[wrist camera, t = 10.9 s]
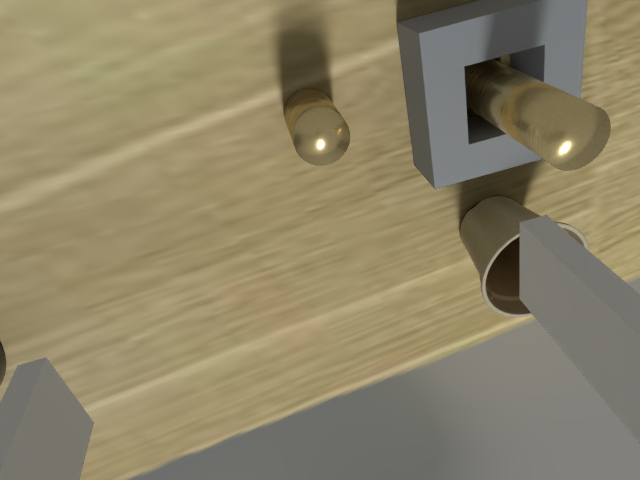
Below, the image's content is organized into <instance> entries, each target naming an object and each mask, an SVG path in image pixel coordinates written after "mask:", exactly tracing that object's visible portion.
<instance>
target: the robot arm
mask: <svg viewBox="0 0 640 480" xmlns="http://www.w3.org/2000/svg"><path fill="white" fill-rule="evenodd" d="M519 299H520V300H521V301H522V302H523V304H524V305H525V306H526V307H527V308H528V310H529V311H530V312H531V313H532V315H533V316H534V317H535V318H536V319H537V320H538V322H539V323H540V324H541V325H542V327H543V328H544V329H545V330H546V331H547V333H548V334H549V335H550V336H551V337H552V339H553V340H554V341H555V342H556V343H557V344H558V346H559V347H560V348H561V349H562V351H563V352H564V353H565V354H566V355H567V357H568V358H569V359H570V360H571V361H572V363H573V364H574V365H575V366H576V367H577V369H578V370H579V371H580V372H581V374H582V375H583V376H584V377H585V378H586V380H587V381H588V382H589V383H590V384H591V386H592V387H593V388H594V389H595V390H596V392H597V393H598V394H599V395H600V396H601V397H602V399H603V400H604V401H605V402H606V404H607V405H608V406H609V407H610V408H611V409H612V411H613V412H614V413H615V414H616V416H617V417H618V418H619V419H620V420H621V422H622V423H623V424H624V425H625V426H626V428H627V429H628V430H629V431H630V432H631V434H632V435H633V436H634V437H635V439H636V440H637V441H638V442H639V443H640V294H639V293H638V292H636V291H635V290H634V289H633V288H632V287H630V286H629V285H628V284H627V283H626V282H625V281H623V280H622V279H621V278H620V277H619V276H618V275H616V274H615V273H614V272H613V271H612V270H610V269H609V268H608V267H607V266H606V265H605V264H603V263H602V262H601V261H600V260H599V259H598V258H596V257H595V256H594V255H593V254H592V253H591V252H589V251H588V250H587V249H586V248H585V247H583V246H582V245H581V244H580V243H579V242H578V241H576V240H575V239H574V238H573V237H572V236H571V235H569V234H568V233H567V232H566V231H565V230H564V229H562V228H561V227H560V226H559V225H558V224H556V223H555V222H554V221H553V220H552V219H551V218H549V217H548V216H547V215H544V216H541V217H537V218H534V219H530V220H527V221H523V222H520V287H519ZM5 371H6V359H5V354H4V351H3V348H2V346H1V344H0V385H1V383H2V381H3V379H4V375H5ZM93 424H94V422H93V421H92V419H91V418H90V417H89V415H88V414H87V412H86V411H85V410H84V408H83V407H82V406H81V404H80V403H79V401H78V400H77V399H76V397H75V396H74V395H73V393H72V392H71V391H70V389H69V388H68V386H67V385H66V384H65V382H64V381H63V380H62V378H61V377H60V375H59V374H58V373H57V371H56V370H55V369H54V367H53V366H52V365H51V363H50V362H49V360H48V359H47V358H42V359H39V360H35V361H32V362H28V363H25V364H21V365H18V366H17V368H16V370H15V373H14V375H13V377H12V379H11V381H10V383H9V386H8V388H7V390H6V392H5V394H4V396H3V399H2V401H1V403H0V480H79V479H80V476H81V472H82V468H83V464H84V460H85V456H86V452H87V448H88V444H89V440H90V436H91V432H92V428H93Z"/></svg>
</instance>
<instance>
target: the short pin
mask: <svg viewBox="0 0 640 480" xmlns="http://www.w3.org/2000/svg"><path fill="white" fill-rule="evenodd" d="M284 117H285V121H286V124H287V127H288V130H289V132H290V135H291V138H292V140H293V143H294V146H295V149H296V151H297V153H298V154H299V156H300V157H301V158H302V159H303V160H304V161H306V162H308V163H310V164H313V165H327V164H331V163H333V162H335V161H336V160H338V159H339V158H340V157H341V156H342V155H343V154H344V153H345V152H346V150H347V148H348V145H349V142H350V131H349V127H348V125H347V123H346V122H345V120H344V119H343V117H342V116H341V114H340V113H339V111H338V110H337V109H336V107H335V106H334V104H333V103H332V101H331V100H330V98H329V97H328V96H327V95H326V94H325V93H324V92H322V91H320V90H318V89H314V88H305V89H302V90H299V91H297V92H296V93H294V94H293V95H292V96H291V97H290V98H289V100H288V101H287V103H286V106H285V110H284Z"/></svg>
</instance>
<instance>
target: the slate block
mask: <svg viewBox="0 0 640 480" xmlns="http://www.w3.org/2000/svg"><path fill="white" fill-rule="evenodd" d="M586 12H587V0H478V1H474V2H470V3H467V4H463V5H459V6H455V7H452V8H448V9H444V10H441V11H437V12H433V13H429V14H426V15H422V16H418V17H415V18H411V19H407V20H403V21H400V22H397V30H398V38H399V46H400V54H401V62H402V70H403V78H404V87H405V95H406V103H407V111H408V119H409V127H410V135H411V143H412V151H413V159H414V165H415V166H416V168H417V169H418V170H419V171H420V172H421V173H422V175H423V176H424V177H425V178H426V179H427V180H428V182H429V183H430V184H431V185H432V186H433V188H434V189H437V188H441V187H445V186H448V185H452V184H455V183H459V182H462V181H466V180H469V179H473V178H477V177H480V176H484V175H487V174H491V173H494V172H498V171H501V170H505V169H509V168H512V167H516V166H519V165H523V164H526V163H530V162H533V161H537V160H541V159H542V158H541V157H539V156H538V155H537V154H535V153H534V152H532V151H531V150H529V149H528V148H526V147H525V146H523V145H522V144H521V143H519V142H518V141H516V140H515V139H513V138H512V137H510V136H509V135H507V134H506V133H505V132H503V131H502V130H500V129H499V128H497V127H496V126H494V125H493V124H492V123H490V122H489V121H487V120H486V119H484V118H483V117H481V116H480V115H475V116H471V117H468V118H467V106H466V89H465V71H464V66H468V65H472V64H475V63H479V62H483V61H486V60H490V59H494V58H497V57H501V56H505V55H508V54H510V56H511V68H513V69H516V70H518V71H520V72H522V73H524V74H527V75H529V76H531V77H533V78H535V79H538V80H540V81H542V82H544V83H547V84H549V85H551V86H553V87H555V88H558V89H560V90H562V91H564V92H566V93H569V94H571V95H573V96H575V97H577V98H580V99H581V85H582V70H583V56H584V41H585V27H586Z"/></svg>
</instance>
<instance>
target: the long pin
mask: <svg viewBox="0 0 640 480" xmlns="http://www.w3.org/2000/svg"><path fill="white" fill-rule="evenodd" d="M464 71H465V89H466V106H467V107H468V108H470V109H471V110H473V111H474V112H476V113H477V114H478V115H480V116H481V117H483V118H484V119H486V120H487V121H489V122H490V123H492V124H493V125H494V126H496V127H497V128H499V129H500V130H502V131H503V132H505V133H506V134H507V135H509V136H510V137H512V138H513V139H515V140H516V141H518V142H519V143H521V144H522V145H523V146H525V147H526V148H528V149H529V150H531V151H532V152H534V153H535V154H537V155H538V156H539V157H541V158H542V159H544V160H545V161H547V162H548V163H550V164H551V165H553V166H554V167H556V168H557V169H560V170H564V171H570V170H576V169H579V168H581V167H583V166H585V165H587V164H589V163H590V162H591V161H593V160H594V159H595V158H596V157H597V156H598V155H599V154H600V153H601V151H602V150H603V148H604V147H605V145H606V143H607V141H608V138H609V135H610V128H611V125H610V120H609V117H608V115H607V113H606V112H605V111H604V110H603V109H601V108H600V107H597V106H595V105H593V104H591V103H588V102H586V101H584V100H582V99H580V98H577V97H575V96H573V95H571V94H569V93H566V92H564V91H562V90H560V89H558V88H555V87H553V86H551V85H549V84H547V83H544V82H542V81H540V80H538V79H535V78H533V77H531V76H529V75H527V74H524V73H522V72H520V71H518V70H516V69H513V68H511V67H509V66H507V65H505V64H502V63H500V62H498V61H496V60H494V59H490V60H486V61H483V62H479V63H475V64H472V65H468V66H464Z"/></svg>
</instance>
